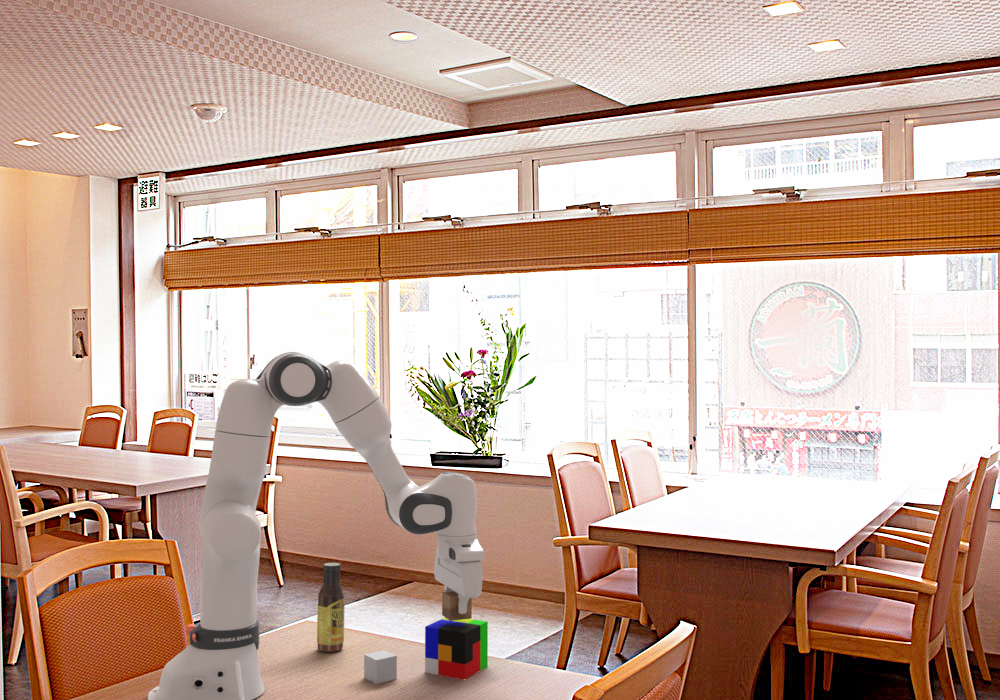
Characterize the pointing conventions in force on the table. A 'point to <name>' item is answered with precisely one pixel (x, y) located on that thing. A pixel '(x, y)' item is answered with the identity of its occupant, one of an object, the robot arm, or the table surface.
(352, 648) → the table surface
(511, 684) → the table surface
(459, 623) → the puzzle toy
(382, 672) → the grey block
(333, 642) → the sauce bottle
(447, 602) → the walnut block
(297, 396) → the robot arm
